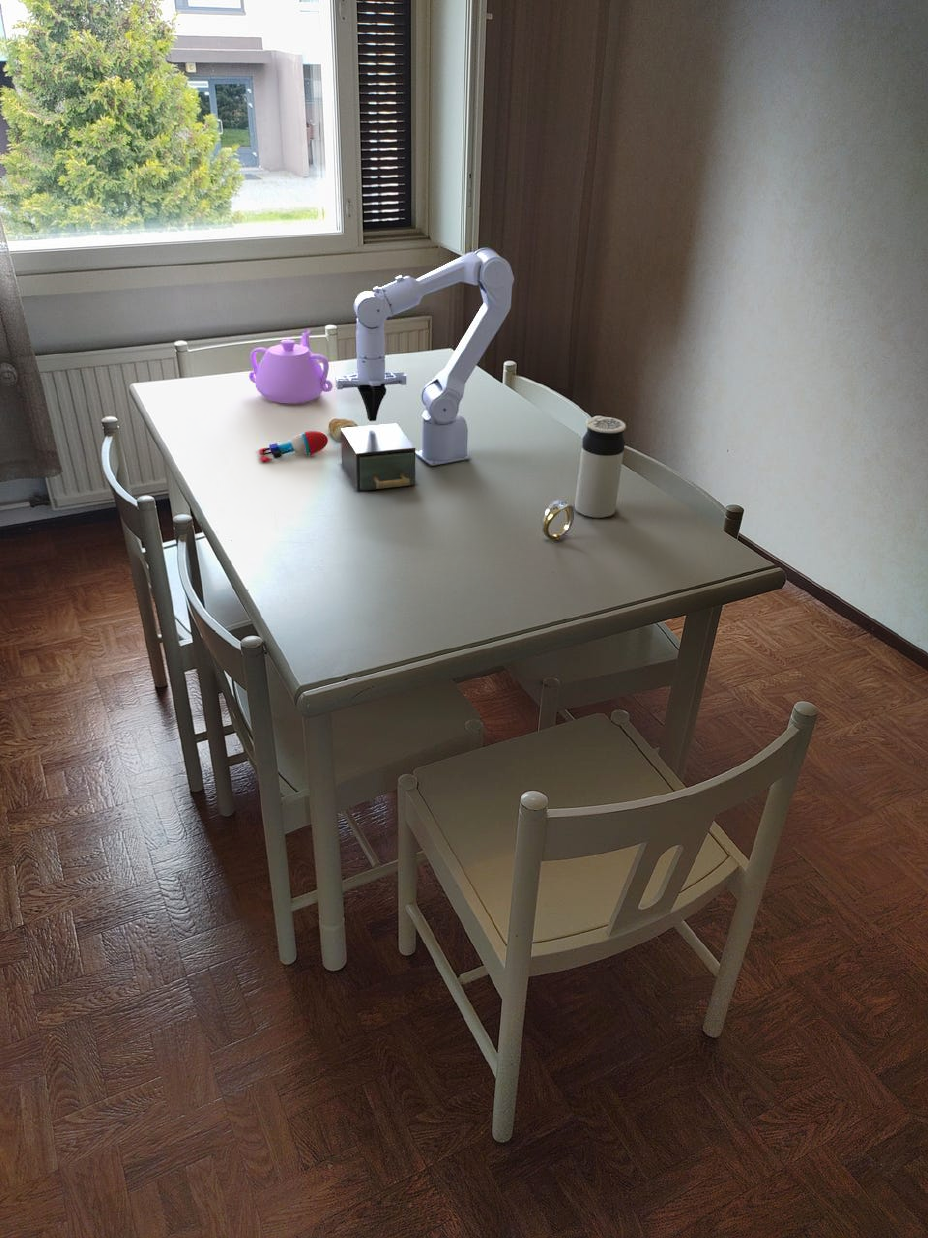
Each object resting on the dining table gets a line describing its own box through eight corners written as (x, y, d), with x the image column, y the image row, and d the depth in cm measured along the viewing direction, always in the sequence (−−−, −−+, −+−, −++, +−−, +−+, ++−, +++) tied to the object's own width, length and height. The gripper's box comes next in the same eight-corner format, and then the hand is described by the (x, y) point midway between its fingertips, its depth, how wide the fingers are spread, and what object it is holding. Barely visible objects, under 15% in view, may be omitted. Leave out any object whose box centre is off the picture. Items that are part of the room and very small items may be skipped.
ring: (546, 547, 166) (550, 507, 162) (536, 539, 168) (539, 500, 164) (576, 538, 170) (581, 499, 165) (565, 531, 172) (569, 492, 167)
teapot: (350, 384, 237) (348, 331, 229) (320, 412, 219) (317, 355, 211) (271, 375, 241) (267, 322, 233) (236, 401, 223) (230, 345, 215)
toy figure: (264, 470, 193) (332, 454, 195) (258, 449, 190) (327, 432, 193) (260, 459, 199) (327, 443, 202) (254, 438, 197) (322, 422, 199)
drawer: (420, 493, 181) (420, 462, 178) (366, 499, 178) (366, 468, 175) (396, 459, 195) (396, 430, 191) (346, 464, 192) (345, 435, 188)
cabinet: (415, 485, 186) (415, 447, 182) (357, 491, 183) (356, 453, 178) (396, 459, 197) (396, 423, 193) (341, 464, 194) (340, 428, 189)
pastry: (321, 429, 210) (321, 413, 208) (349, 425, 213) (348, 409, 211) (336, 443, 203) (336, 427, 201) (364, 439, 206) (364, 423, 204)
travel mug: (622, 511, 180) (635, 424, 170) (597, 522, 175) (609, 434, 166) (591, 497, 185) (602, 412, 175) (566, 508, 180) (576, 422, 170)
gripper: (340, 363, 178) (342, 429, 186) (410, 358, 182) (410, 423, 190) (332, 352, 184) (334, 416, 191) (401, 348, 188) (401, 411, 195)
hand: (371, 419), depth 191 cm, fingers closed
